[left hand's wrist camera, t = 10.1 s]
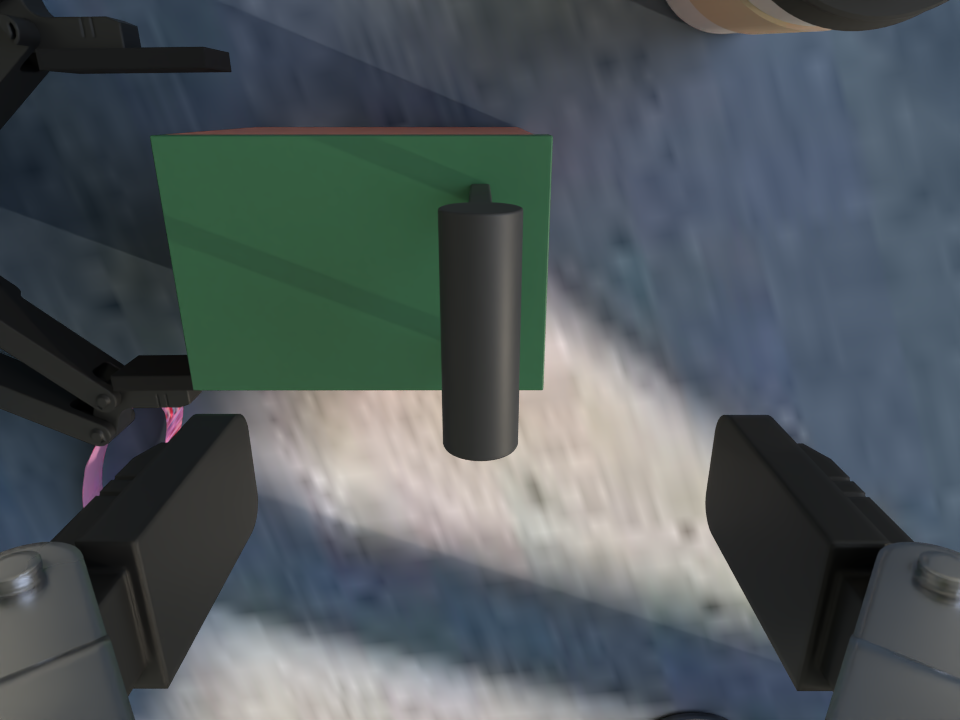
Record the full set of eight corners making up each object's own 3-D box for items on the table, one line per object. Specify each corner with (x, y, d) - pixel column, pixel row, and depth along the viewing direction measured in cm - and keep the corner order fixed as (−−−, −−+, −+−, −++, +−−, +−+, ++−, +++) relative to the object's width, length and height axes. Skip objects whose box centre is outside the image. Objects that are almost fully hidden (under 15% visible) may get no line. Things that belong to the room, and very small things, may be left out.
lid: (549, 134, 24) (590, 148, 15) (540, 379, 27) (570, 507, 18) (163, 134, 24) (-20, 149, 15) (203, 379, 27) (73, 507, 18)
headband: (127, 369, 38) (108, 384, 36) (194, 395, 39) (178, 411, 37) (84, 514, 41) (64, 535, 39) (146, 535, 42) (130, 557, 40)
